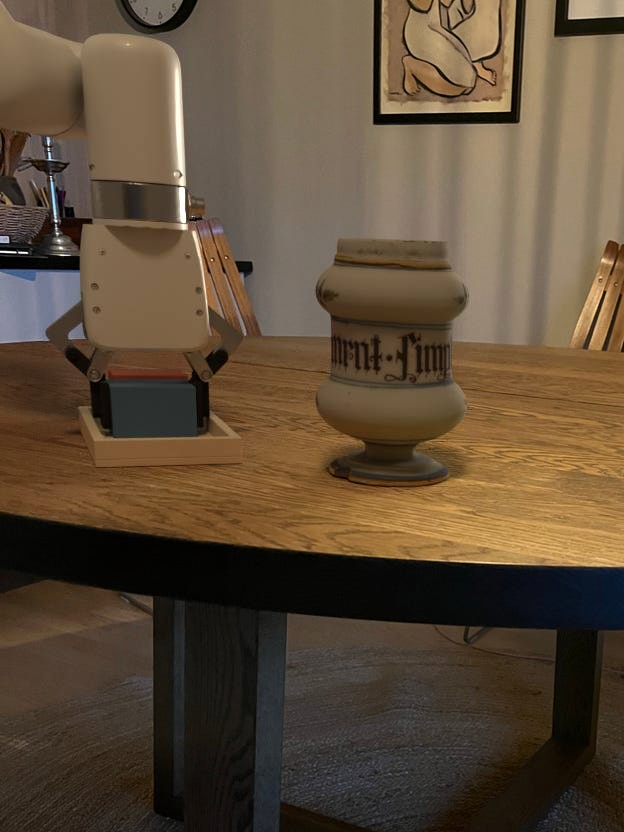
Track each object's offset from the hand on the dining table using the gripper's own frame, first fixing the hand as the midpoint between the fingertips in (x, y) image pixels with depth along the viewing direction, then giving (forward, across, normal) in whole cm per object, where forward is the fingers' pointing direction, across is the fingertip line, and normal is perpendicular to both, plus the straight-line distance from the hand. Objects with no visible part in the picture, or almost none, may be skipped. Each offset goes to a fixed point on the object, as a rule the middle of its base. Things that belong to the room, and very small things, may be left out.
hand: (152, 424), depth 91 cm
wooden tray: (+1, 0, +2) cm, 3 cm away
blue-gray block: (+1, 0, 0) cm, 1 cm away
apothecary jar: (+2, -17, +16) cm, 23 cm away
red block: (+1, -1, -12) cm, 12 cm away
